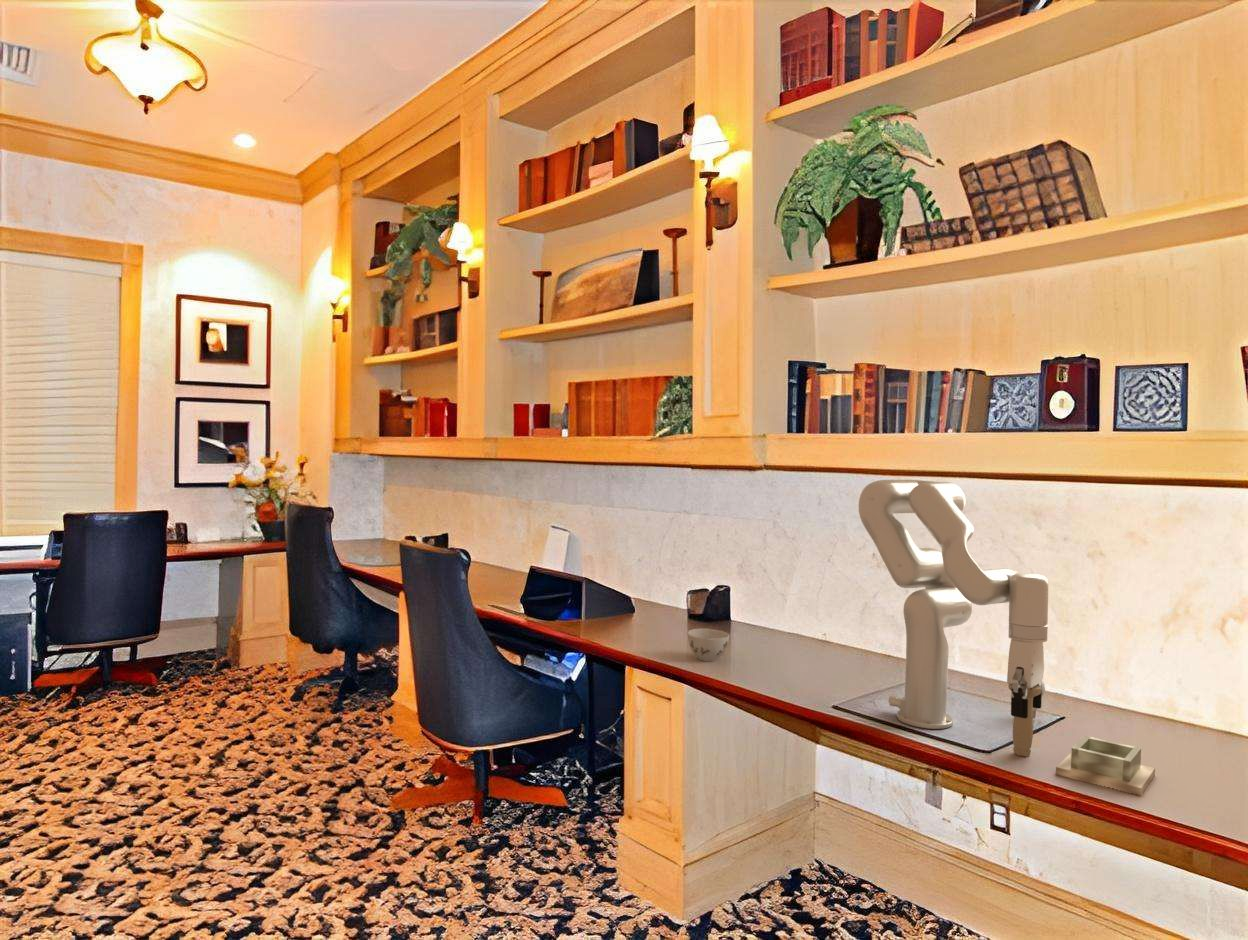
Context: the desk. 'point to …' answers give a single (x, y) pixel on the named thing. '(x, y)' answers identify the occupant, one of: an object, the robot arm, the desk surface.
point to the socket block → (1107, 765)
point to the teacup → (708, 643)
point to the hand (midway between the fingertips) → (1026, 711)
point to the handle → (1024, 726)
